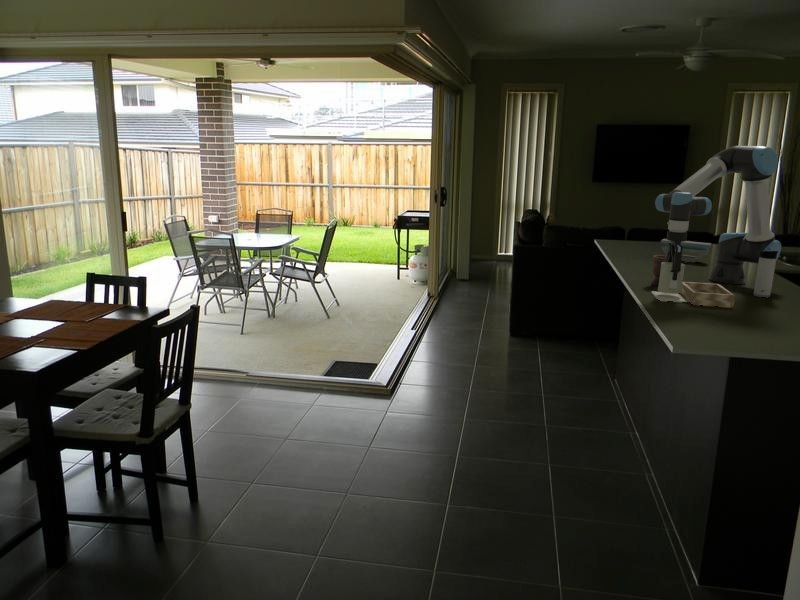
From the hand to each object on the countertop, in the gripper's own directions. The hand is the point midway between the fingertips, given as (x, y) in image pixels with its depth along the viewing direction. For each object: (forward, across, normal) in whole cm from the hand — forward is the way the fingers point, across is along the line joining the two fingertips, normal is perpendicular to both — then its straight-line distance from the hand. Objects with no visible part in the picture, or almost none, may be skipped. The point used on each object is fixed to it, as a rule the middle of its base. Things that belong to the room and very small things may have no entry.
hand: (670, 285), depth 267 cm
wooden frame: (+5, 0, +14) cm, 15 cm away
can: (+3, 0, 0) cm, 3 cm away
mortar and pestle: (+5, -26, +3) cm, 27 cm away
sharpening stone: (+5, -104, +29) cm, 108 cm away
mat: (+5, 0, 0) cm, 5 cm away
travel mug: (+5, -16, +41) cm, 44 cm away
